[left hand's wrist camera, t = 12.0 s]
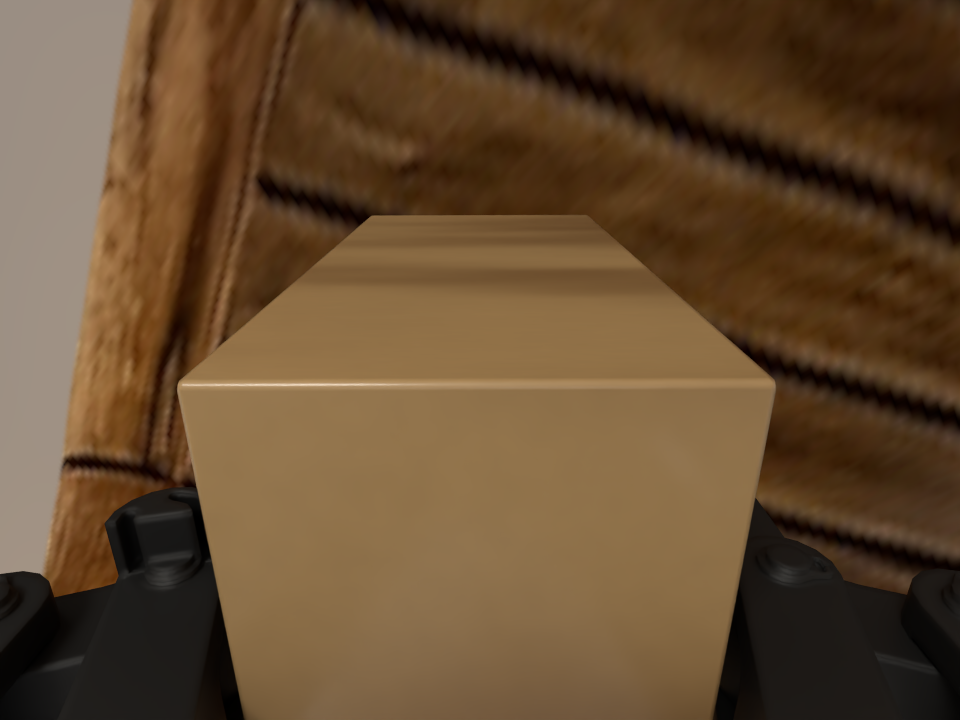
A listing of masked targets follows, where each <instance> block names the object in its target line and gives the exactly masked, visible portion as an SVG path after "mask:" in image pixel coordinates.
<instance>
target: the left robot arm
mask: <svg viewBox="0 0 960 720" xmlns="http://www.w3.org/2000/svg"><path fill="white" fill-rule="evenodd" d="M105 527H106V531H107V534H108V538H109V542H110V545H111V549H112V553H113V556H114V560H115V564H116V567H117V571H118V575H119V577H118V579H117V581H116V583H115V584H111V585H108V586H104V587H101V588H96V589H91V590H87V591H82V592H77V593H73V594H68V595H63V596H59V597H54V595H53V592H52V589H51V586H50V583H49V581H48V580H47V579H46V578H44V577H43V576H42V575H41V574H38V573H32V572H25V571H21V572H13V573H5V574H0V720H244V716H243V711H242V706H241V701H240V696H239V691H238V686H237V681H236V677H235V672H234V667H233V662H232V657H231V652H230V647H229V642H228V637H227V632H226V628H225V623H224V618H223V613H222V608H221V603H220V598H219V593H218V588H217V583H216V578H215V574H214V569H213V564H212V559H211V554H210V549H209V544H208V539H207V534H206V529H205V524H204V520H203V515H202V510H201V505H200V500H199V495H198V490H197V488H192V487H181V488H169V489H164V490H160V491H155V492H151V493H149V494H146V495H144V496H141V497H139V498H136V499H134V500H131V501H130V502H128V503H127V504H125V505H124V506H122V507H121V508H119V509H118V510H116V511H115V512H114V513H113V514H112V515H111V517H110V518H109V519H108V520H107V521H106V522H105ZM713 720H960V571H953V570H945V569H933V570H926V571H921V572H920V573H919V574H918V575H916V576H915V577H914V578H913V579H912V582H911V585H910V588H909V591H908V594H907V595H905V594H900V593H895V592H891V591H886V590H881V589H877V588H872V587H867V586H863V585H858V584H855V583H851V582H848V581H844V580H843V578H842V575H841V574H840V573H839V571H838V570H837V568H836V567H835V566H834V564H833V563H832V562H831V561H830V560H829V559H827V558H826V557H825V556H823V555H822V554H821V553H820V552H818V551H817V550H815V549H813V548H811V547H809V546H807V545H804V544H802V543H800V542H798V541H795V540H791V539H787V538H784V536H783V535H782V534H781V532H780V531H779V529H778V528H777V527H776V525H775V524H774V523H773V521H772V520H771V518H770V517H769V516H768V514H767V513H766V512H765V510H764V509H763V507H762V506H761V505H760V503H759V502H758V501H757V499H756V498H755V502H754V507H753V512H752V518H751V523H750V528H749V533H748V538H747V544H746V549H745V554H744V559H743V565H742V570H741V575H740V580H739V585H738V591H737V596H736V601H735V606H734V612H733V617H732V622H731V627H730V633H729V638H728V643H727V648H726V653H725V659H724V664H723V669H722V674H721V680H720V685H719V690H718V695H717V701H716V706H715V711H714V716H713Z"/></svg>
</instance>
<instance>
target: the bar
mask: <svg viewBox="0 0 960 720" xmlns="http://www.w3.org/2000/svg"><path fill="white" fill-rule="evenodd" d="M177 392H178V397H179V402H180V407H181V412H182V417H183V421H184V426H185V431H186V436H187V441H188V446H189V451H190V456H191V461H192V466H193V470H194V475H195V480H196V485H197V490H198V495H199V500H200V505H201V510H202V515H203V520H204V524H205V529H206V534H207V539H208V544H209V549H210V554H211V559H212V564H213V569H214V574H215V578H216V583H217V588H218V593H219V598H220V603H221V608H222V613H223V618H224V623H225V628H226V632H227V637H228V642H229V647H230V652H231V657H232V662H233V667H234V672H235V677H236V681H237V686H238V691H239V696H240V701H241V706H242V711H243V716H244V720H713V716H714V711H715V706H716V701H717V695H718V690H719V685H720V680H721V674H722V669H723V664H724V659H725V653H726V648H727V643H728V638H729V633H730V627H731V622H732V617H733V612H734V606H735V601H736V596H737V591H738V585H739V580H740V575H741V570H742V565H743V559H744V554H745V549H746V544H747V538H748V533H749V528H750V523H751V518H752V512H753V507H754V502H755V497H756V491H757V486H758V481H759V476H760V470H761V465H762V460H763V455H764V450H765V444H766V439H767V434H768V429H769V423H770V418H771V413H772V408H773V402H774V397H775V392H776V384H775V381H774V379H773V378H772V377H771V376H770V375H768V374H767V373H766V372H765V371H764V370H763V369H762V368H760V367H759V366H758V365H757V364H756V363H755V362H754V361H752V360H751V359H750V358H749V357H748V356H747V355H746V354H745V353H743V352H742V351H741V350H740V349H739V348H738V347H737V346H735V345H734V344H733V343H732V342H731V341H730V340H729V339H727V338H726V337H725V336H724V335H723V334H722V333H721V332H720V331H718V330H717V329H716V328H715V327H714V326H713V325H712V324H710V323H709V322H708V321H707V320H706V319H705V318H704V317H702V316H701V315H700V314H699V313H698V312H697V311H696V310H695V309H693V308H692V307H691V306H690V305H689V304H688V303H687V302H685V301H684V300H683V299H682V298H681V297H680V296H679V295H678V294H676V293H675V292H674V291H673V290H672V289H671V288H670V287H668V286H667V285H666V284H665V283H664V282H663V281H662V280H660V279H659V278H658V277H657V276H656V275H655V274H654V273H653V272H651V271H650V270H649V269H648V268H647V267H646V266H645V265H643V264H642V263H641V262H640V261H639V260H638V259H637V258H635V257H634V256H633V255H632V254H631V253H630V252H629V251H628V250H626V249H625V248H624V247H623V246H622V245H621V244H620V243H618V242H617V241H616V240H615V239H614V238H613V237H612V236H610V235H609V234H608V233H607V232H606V231H605V230H604V229H603V228H601V227H600V226H599V225H598V224H597V223H596V222H595V221H593V220H592V219H591V218H590V217H589V216H587V215H441V216H371V217H370V218H368V219H367V220H366V221H365V222H364V223H363V224H361V225H360V226H359V227H358V228H357V229H356V230H354V231H353V232H352V233H351V234H350V235H349V236H347V237H346V238H345V239H344V240H343V241H342V242H340V243H339V244H338V245H337V246H336V247H335V248H334V249H332V250H331V251H330V252H329V253H328V254H327V255H325V256H324V257H323V258H322V259H321V260H320V261H318V262H317V263H316V264H315V265H314V266H313V267H311V268H310V269H309V270H308V271H307V272H306V273H304V274H303V275H302V276H301V277H300V278H299V279H297V280H296V281H295V282H294V283H293V284H292V285H290V286H289V287H288V288H287V289H286V290H285V291H283V292H282V293H281V294H280V295H279V296H278V297H276V298H275V299H274V300H273V301H272V302H271V303H270V304H268V305H267V306H266V307H265V308H264V309H263V310H261V311H260V312H259V313H258V314H257V315H256V316H254V317H253V318H252V319H251V320H250V321H249V322H247V323H246V324H245V325H244V326H243V327H242V328H240V329H239V330H238V331H237V332H236V333H235V334H233V335H232V336H231V337H230V338H229V339H228V340H226V341H225V342H224V343H223V344H222V345H221V346H219V347H218V348H217V349H216V350H215V351H214V352H212V353H211V354H210V355H209V356H208V357H207V358H206V359H204V360H203V361H202V362H201V363H200V364H199V365H197V366H196V367H195V368H194V369H193V370H192V371H190V372H189V373H188V374H187V375H186V376H185V377H183V378H182V379H181V380H180V381H179V383H178V388H177Z"/></svg>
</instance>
